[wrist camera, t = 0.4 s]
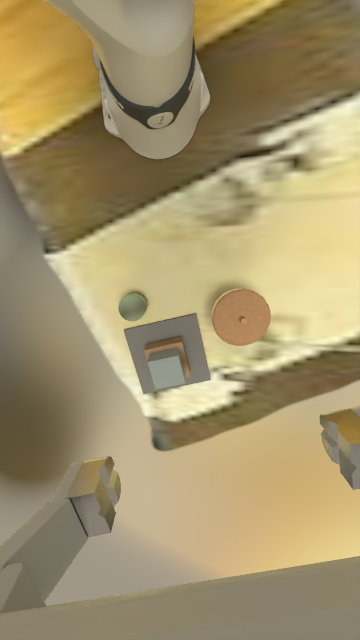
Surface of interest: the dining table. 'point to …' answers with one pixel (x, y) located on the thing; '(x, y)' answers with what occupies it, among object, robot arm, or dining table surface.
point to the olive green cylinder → (133, 306)
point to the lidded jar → (240, 316)
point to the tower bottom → (167, 345)
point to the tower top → (166, 368)
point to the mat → (166, 330)
